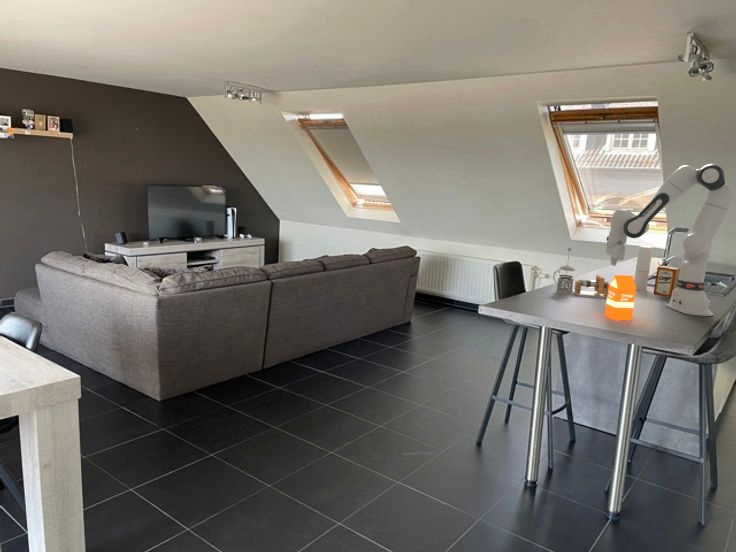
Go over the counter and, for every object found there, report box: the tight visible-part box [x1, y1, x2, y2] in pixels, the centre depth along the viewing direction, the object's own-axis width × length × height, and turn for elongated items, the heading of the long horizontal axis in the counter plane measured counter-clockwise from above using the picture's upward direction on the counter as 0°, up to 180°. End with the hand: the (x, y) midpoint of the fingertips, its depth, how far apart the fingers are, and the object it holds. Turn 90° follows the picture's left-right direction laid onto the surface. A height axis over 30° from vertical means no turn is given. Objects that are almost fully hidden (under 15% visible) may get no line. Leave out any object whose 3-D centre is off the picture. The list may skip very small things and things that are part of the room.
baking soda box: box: [653, 265, 680, 298], centre depth 304 cm, size 10×6×16 cm
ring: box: [593, 274, 606, 294], centre depth 294 cm, size 9×2×9 cm, turn 172°
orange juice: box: [604, 274, 637, 321], centre depth 246 cm, size 8×9×20 cm
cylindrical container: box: [634, 245, 654, 291], centre depth 317 cm, size 7×7×25 cm
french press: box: [552, 247, 576, 296], centre depth 294 cm, size 10×12×25 cm
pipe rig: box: [572, 279, 610, 299], centre depth 295 cm, size 11×19×8 cm, turn 82°
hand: (613, 265), depth 291 cm, fingers closed
